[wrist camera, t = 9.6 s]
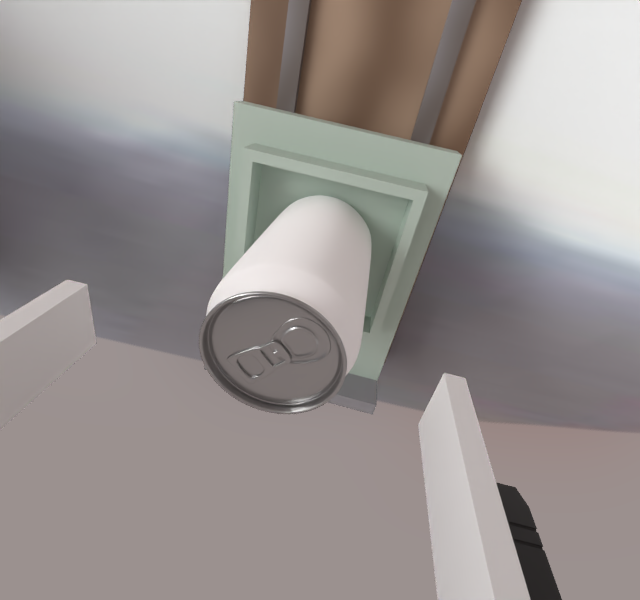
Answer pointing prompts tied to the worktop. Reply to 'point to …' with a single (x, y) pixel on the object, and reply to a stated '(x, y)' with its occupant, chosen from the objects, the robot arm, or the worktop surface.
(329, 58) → the track
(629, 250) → the worktop surface
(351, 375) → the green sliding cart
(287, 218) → the can
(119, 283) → the worktop surface
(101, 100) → the worktop surface
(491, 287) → the worktop surface
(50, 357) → the robot arm
